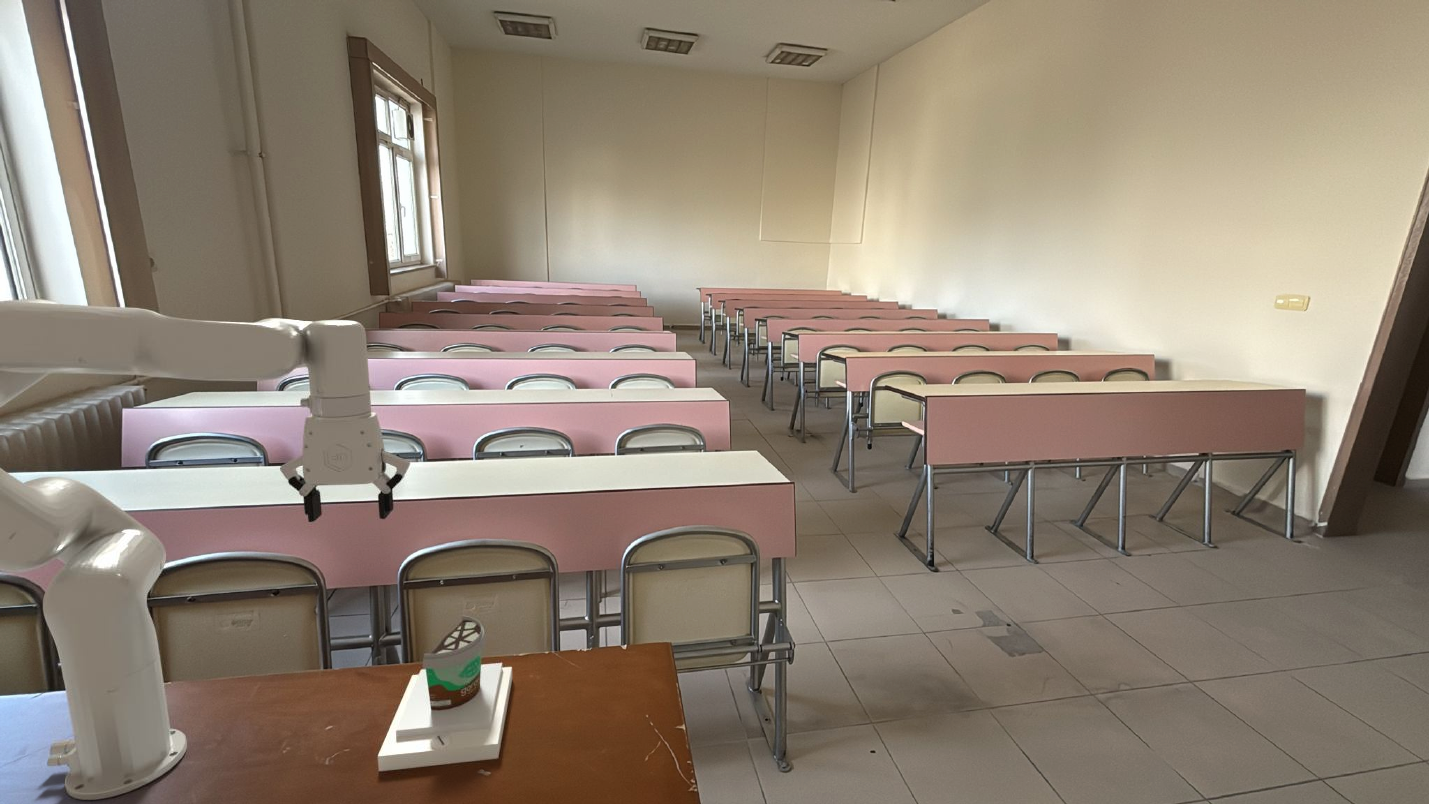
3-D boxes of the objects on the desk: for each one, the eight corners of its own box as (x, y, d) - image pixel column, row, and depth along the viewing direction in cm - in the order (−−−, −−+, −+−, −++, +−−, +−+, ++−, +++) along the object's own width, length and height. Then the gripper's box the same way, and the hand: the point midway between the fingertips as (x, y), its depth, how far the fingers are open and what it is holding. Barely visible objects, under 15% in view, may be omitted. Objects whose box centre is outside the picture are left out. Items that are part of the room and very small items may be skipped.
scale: (378, 771, 91) (377, 748, 90) (413, 688, 109) (412, 668, 108) (498, 758, 94) (497, 736, 93) (512, 679, 112) (511, 660, 112)
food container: (464, 721, 96) (461, 660, 94) (425, 716, 97) (421, 655, 95) (501, 672, 108) (499, 617, 106) (466, 668, 109) (463, 613, 107)
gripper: (263, 411, 89) (275, 529, 92) (398, 410, 92) (405, 524, 96) (287, 401, 96) (297, 510, 99) (412, 400, 100) (418, 506, 103)
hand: (350, 517), depth 98 cm, fingers open, 9 cm apart
